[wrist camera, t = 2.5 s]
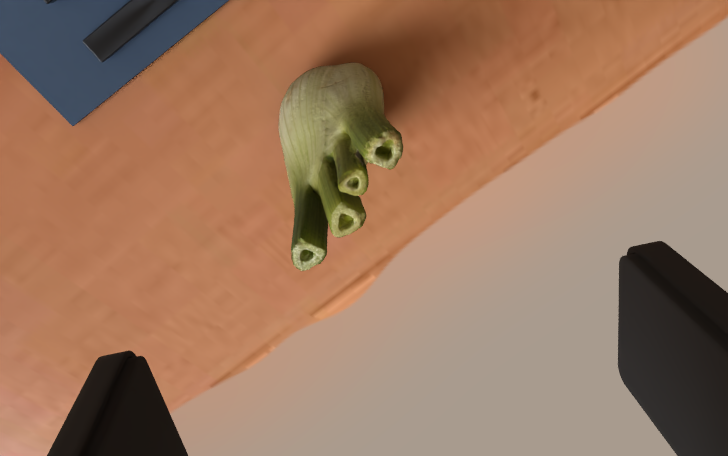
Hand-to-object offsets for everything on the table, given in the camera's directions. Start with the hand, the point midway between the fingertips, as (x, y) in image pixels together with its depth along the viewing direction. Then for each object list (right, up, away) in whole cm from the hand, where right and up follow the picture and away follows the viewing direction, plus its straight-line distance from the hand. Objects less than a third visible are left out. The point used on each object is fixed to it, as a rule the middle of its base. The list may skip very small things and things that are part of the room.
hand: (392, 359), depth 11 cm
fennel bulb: (-2, +9, +18) cm, 21 cm away
